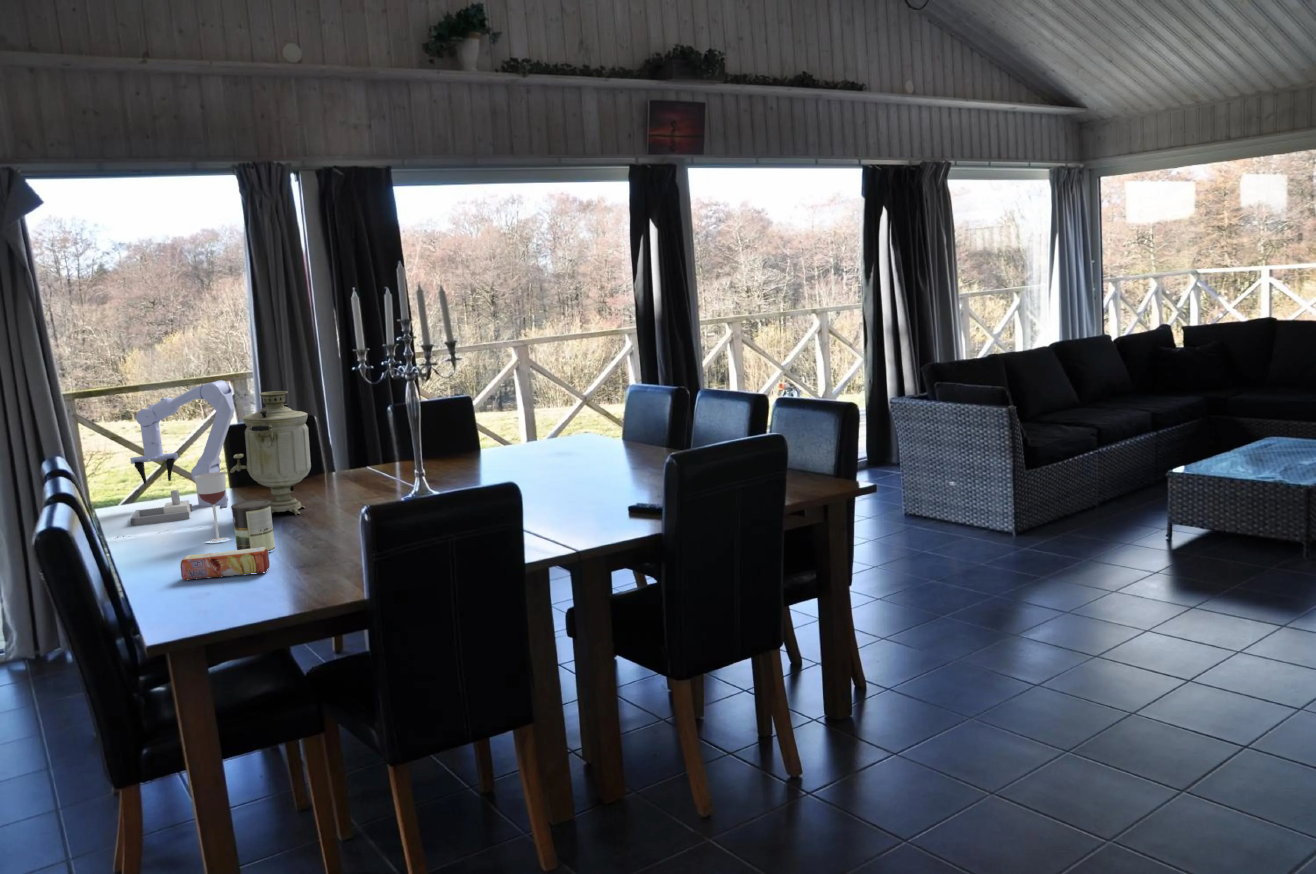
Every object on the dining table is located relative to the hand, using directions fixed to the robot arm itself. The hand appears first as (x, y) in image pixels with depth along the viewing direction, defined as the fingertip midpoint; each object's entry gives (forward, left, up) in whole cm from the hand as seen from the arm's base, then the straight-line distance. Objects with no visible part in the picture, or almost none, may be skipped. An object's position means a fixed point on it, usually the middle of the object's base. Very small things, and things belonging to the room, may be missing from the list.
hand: (157, 481), depth 357 cm
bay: (-2, +21, -10) cm, 23 cm away
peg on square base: (-7, +21, -9) cm, 24 cm away
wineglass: (-21, +61, -10) cm, 65 cm away
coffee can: (-32, +82, -10) cm, 89 cm away
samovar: (-38, +30, -10) cm, 49 cm away
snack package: (-25, +104, -10) cm, 107 cm away
